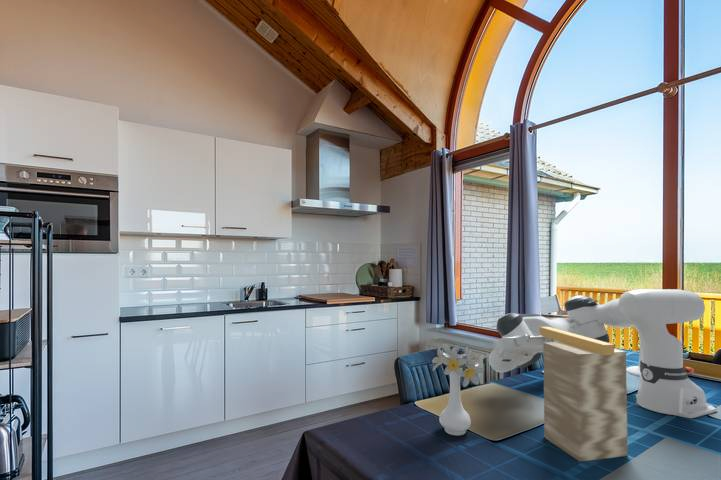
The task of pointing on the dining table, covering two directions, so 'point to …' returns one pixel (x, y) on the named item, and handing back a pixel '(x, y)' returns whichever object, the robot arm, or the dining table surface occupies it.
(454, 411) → the flower vase
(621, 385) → the pedestal
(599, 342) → the bar
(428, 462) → the dining table surface
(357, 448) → the dining table surface
